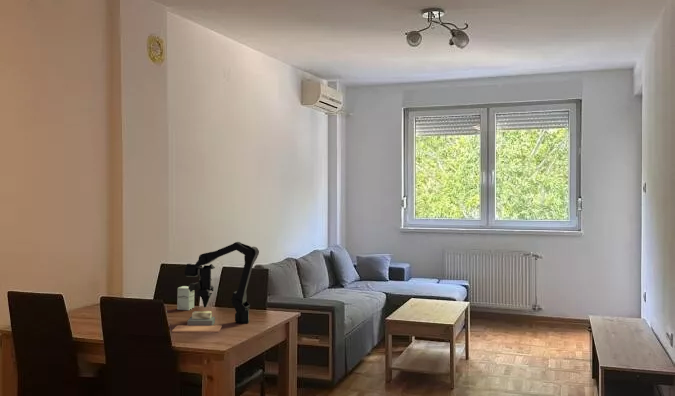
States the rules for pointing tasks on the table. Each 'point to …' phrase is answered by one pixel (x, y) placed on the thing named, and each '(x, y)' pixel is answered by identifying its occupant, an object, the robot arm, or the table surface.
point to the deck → (201, 321)
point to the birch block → (202, 315)
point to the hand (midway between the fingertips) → (205, 307)
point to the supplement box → (185, 298)
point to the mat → (196, 328)
